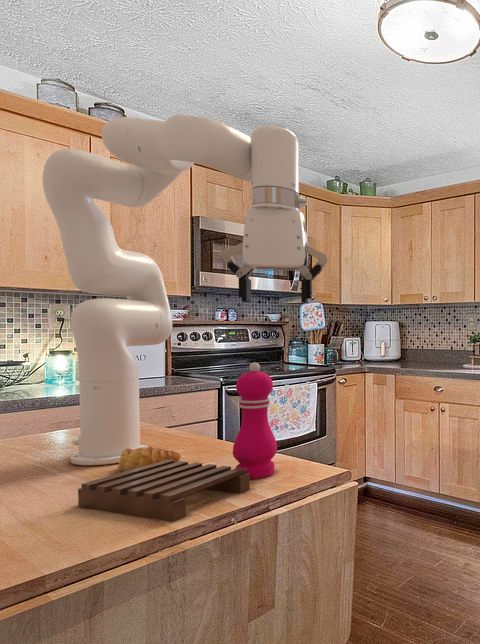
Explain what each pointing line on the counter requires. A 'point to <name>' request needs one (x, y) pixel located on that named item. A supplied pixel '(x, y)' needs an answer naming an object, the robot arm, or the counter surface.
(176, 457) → the pastry
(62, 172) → the robot arm
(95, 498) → the rack
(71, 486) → the counter surface
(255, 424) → the pepper mill
